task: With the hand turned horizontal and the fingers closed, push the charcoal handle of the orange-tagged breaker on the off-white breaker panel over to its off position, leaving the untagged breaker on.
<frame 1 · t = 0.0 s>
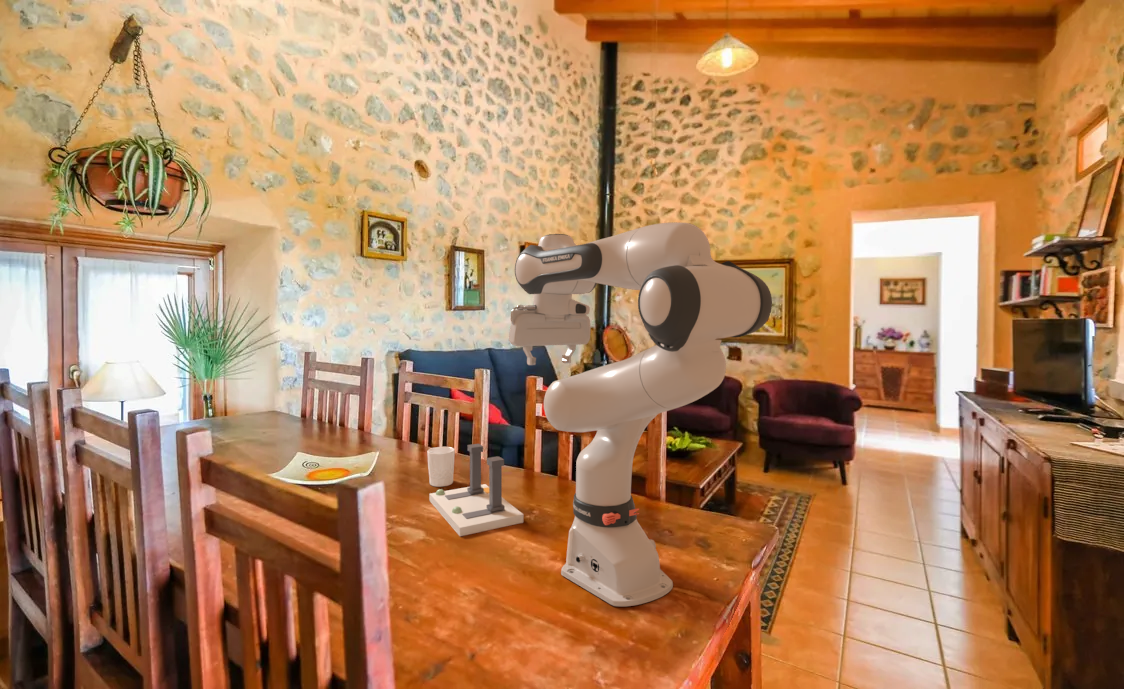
hand: (549, 363, 122), 39 cm above the table, tool pointing down, fingers open, 8 cm apart
breaker panel: (474, 511, 131), on the table
tagged breaker: (475, 468, 138), point 9 cm above the table, slide at 0.0 cm
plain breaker: (495, 483, 126), point 9 cm above the table, slide at 0.0 cm
white cup: (441, 483, 153), on the table
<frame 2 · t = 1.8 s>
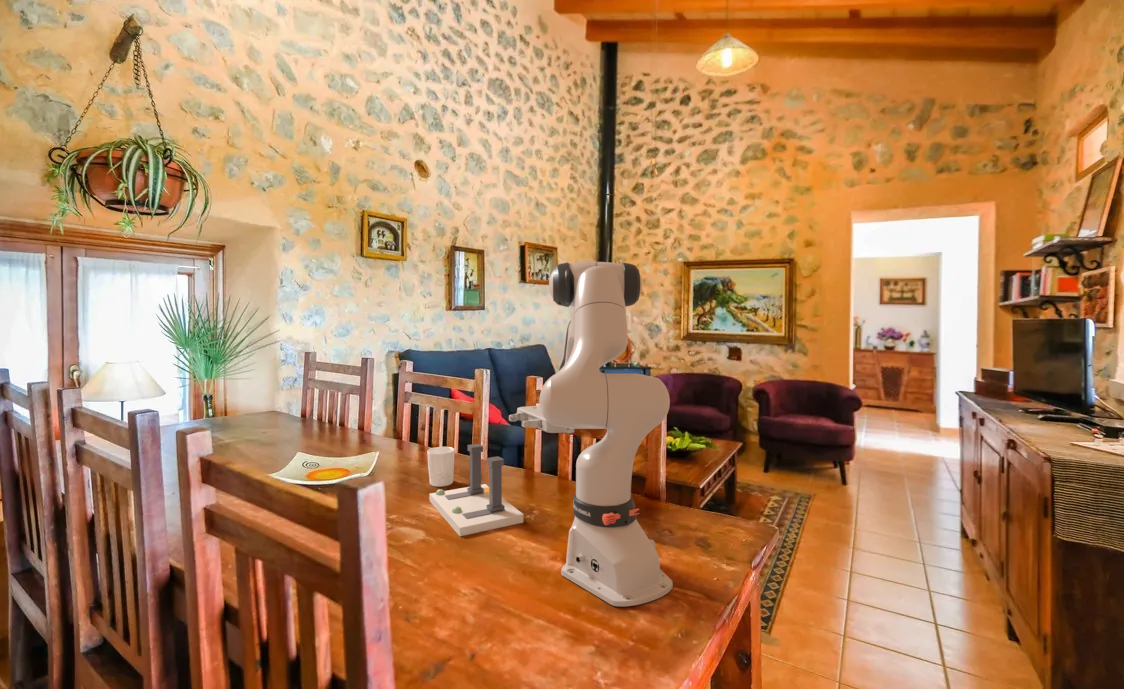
hand: (516, 421, 144), 20 cm above the table, tool horizontal, fingers open, 7 cm apart
nothing on the table moved.
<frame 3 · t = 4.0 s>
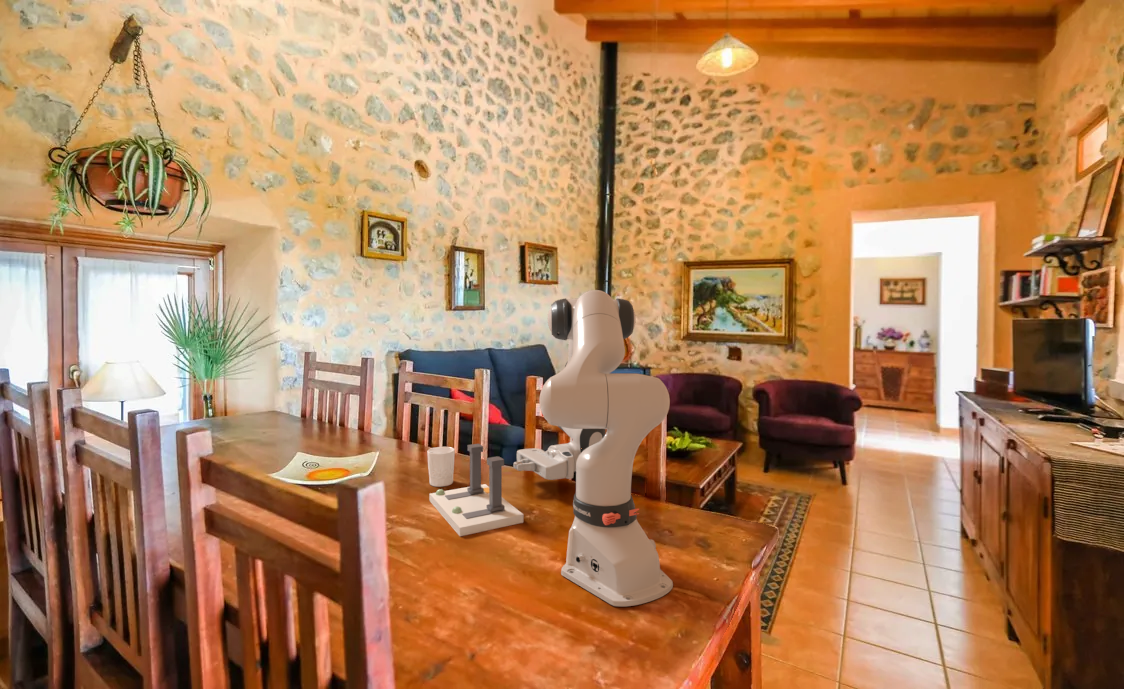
hand: (515, 466, 144), 8 cm above the table, tool horizontal, fingers closed
nothing on the table moved.
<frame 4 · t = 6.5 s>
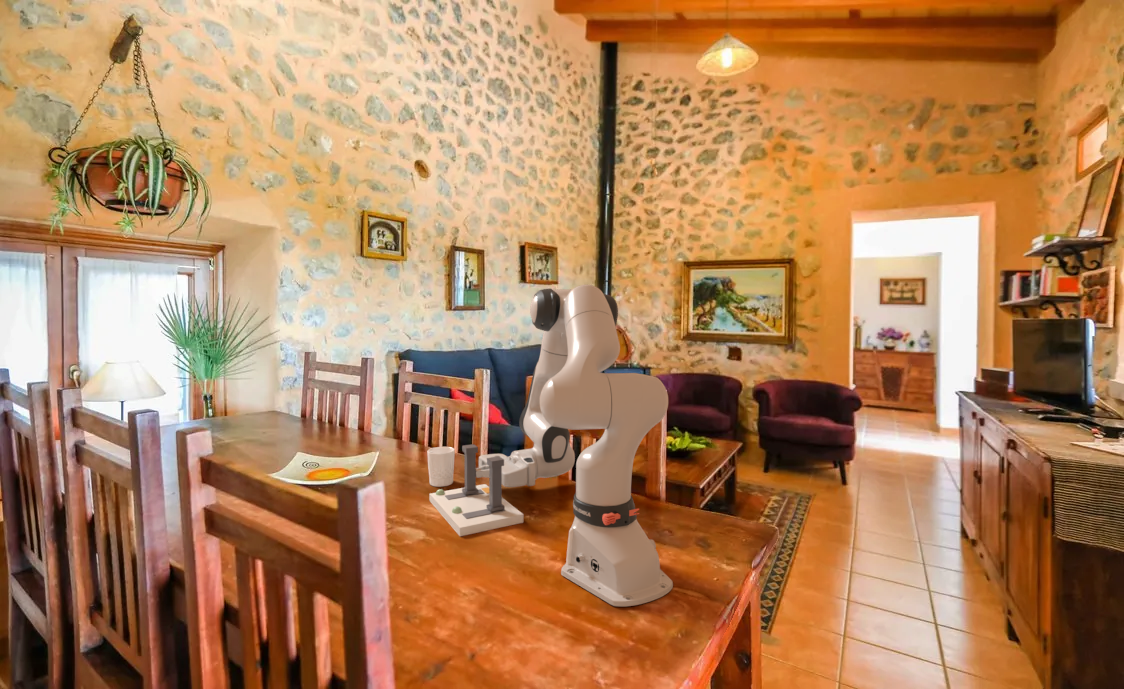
hand: (474, 473, 138), 7 cm above the table, tool horizontal, fingers closed, pressing on tagged breaker
tagged breaker: (470, 469, 138), point 9 cm above the table, slide at 1.5 cm, touching gripper
everything else where it was.
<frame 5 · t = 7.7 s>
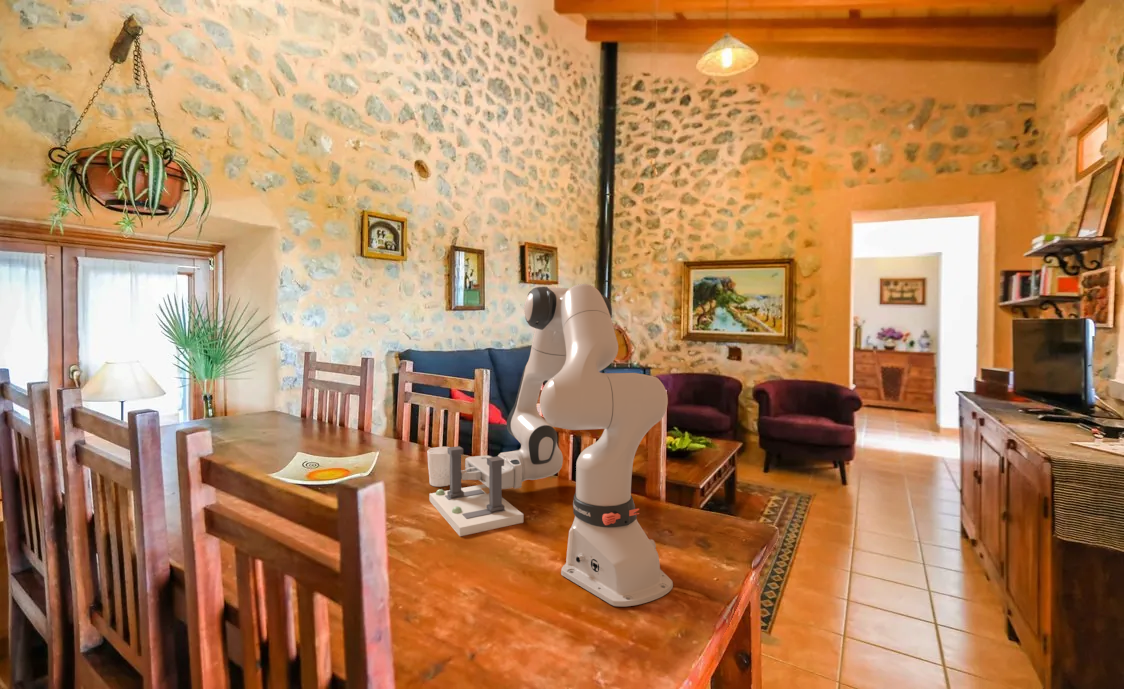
hand: (460, 475, 136), 7 cm above the table, tool horizontal, fingers closed, pressing on tagged breaker
tagged breaker: (455, 471, 136), point 9 cm above the table, slide at 5.5 cm, touching gripper
everything else where it was.
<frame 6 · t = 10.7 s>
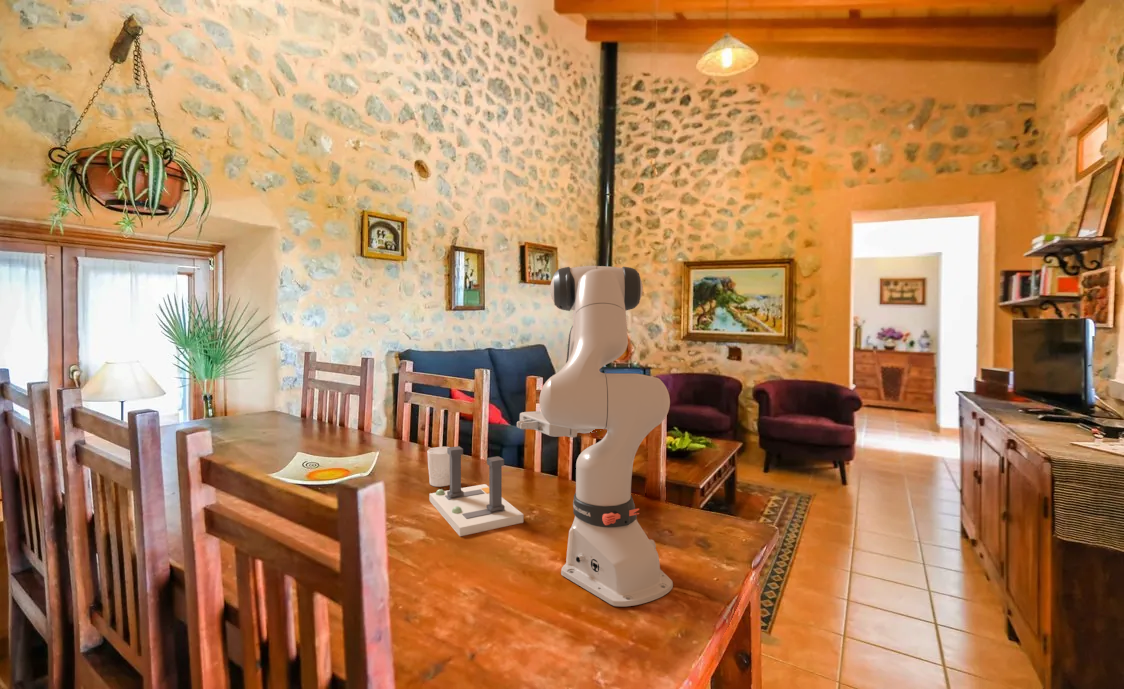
hand: (518, 425, 144), 19 cm above the table, tool horizontal, fingers closed
tagged breaker: (455, 471, 136), point 9 cm above the table, slide at 5.6 cm
everything else where it was.
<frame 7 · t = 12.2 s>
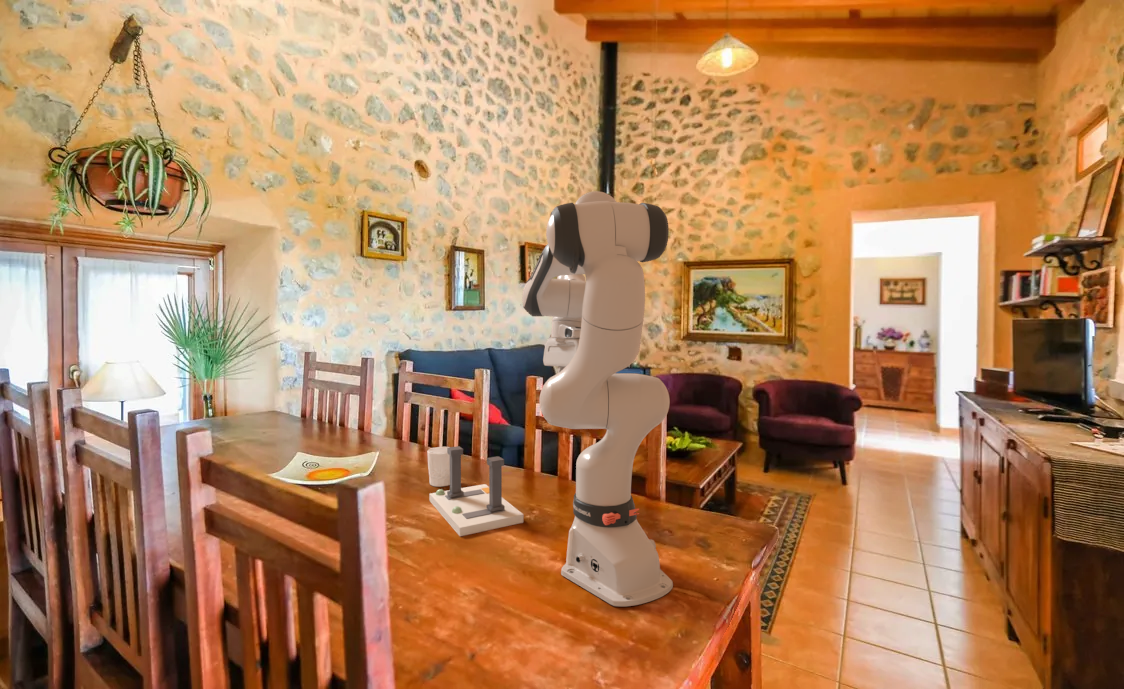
hand: (564, 384, 138), 32 cm above the table, tool pointing down, fingers closed
nothing on the table moved.
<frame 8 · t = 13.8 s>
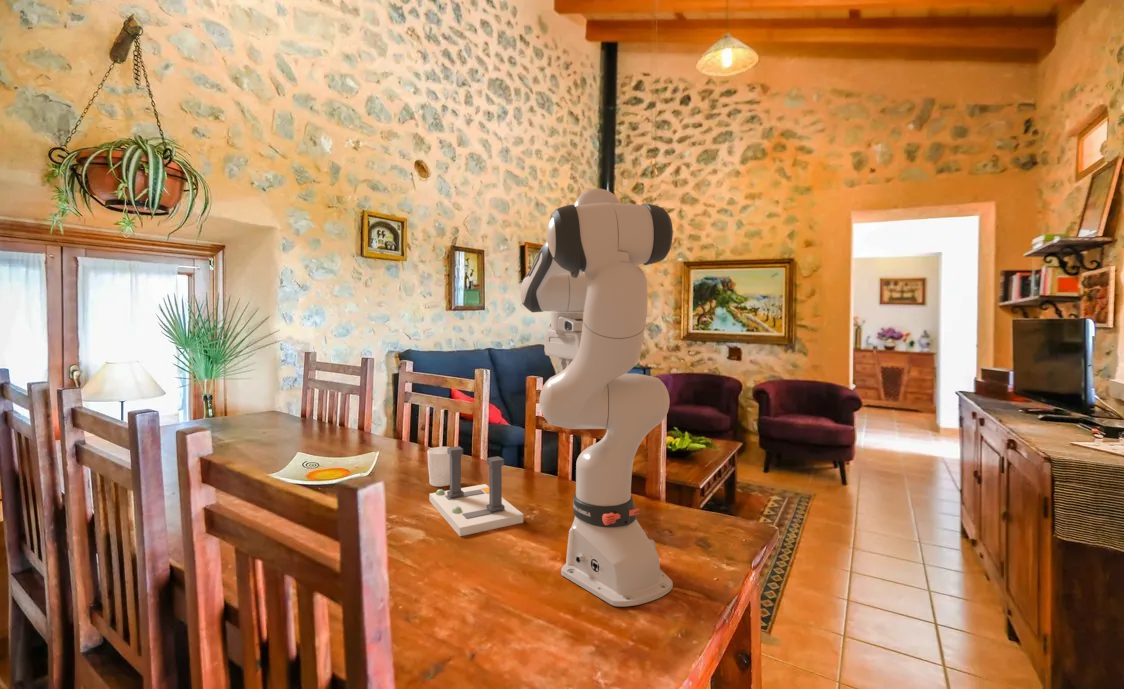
hand: (567, 375, 138), 34 cm above the table, tool pointing down, fingers closed
nothing on the table moved.
at the end: tagged breaker slide at 5.6 cm; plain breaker slide at 0.0 cm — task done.
